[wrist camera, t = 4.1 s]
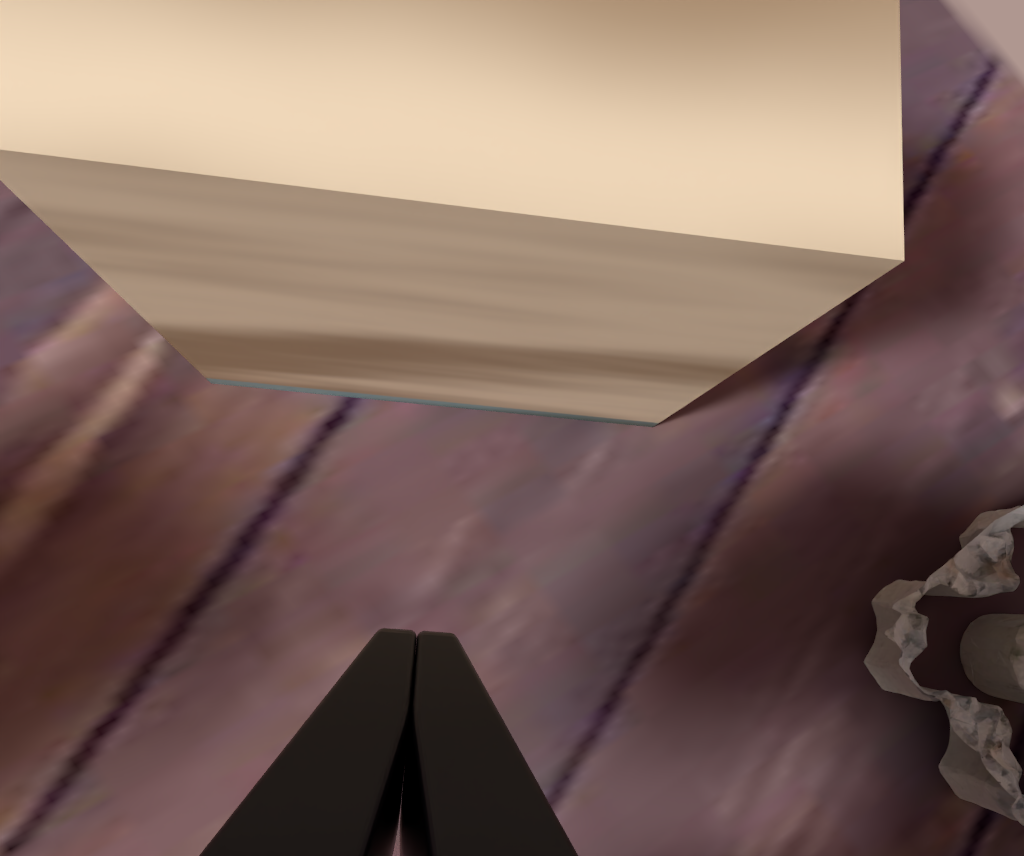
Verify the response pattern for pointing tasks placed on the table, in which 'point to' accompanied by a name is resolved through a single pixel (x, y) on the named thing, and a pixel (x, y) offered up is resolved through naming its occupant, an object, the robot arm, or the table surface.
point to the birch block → (465, 185)
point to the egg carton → (965, 661)
